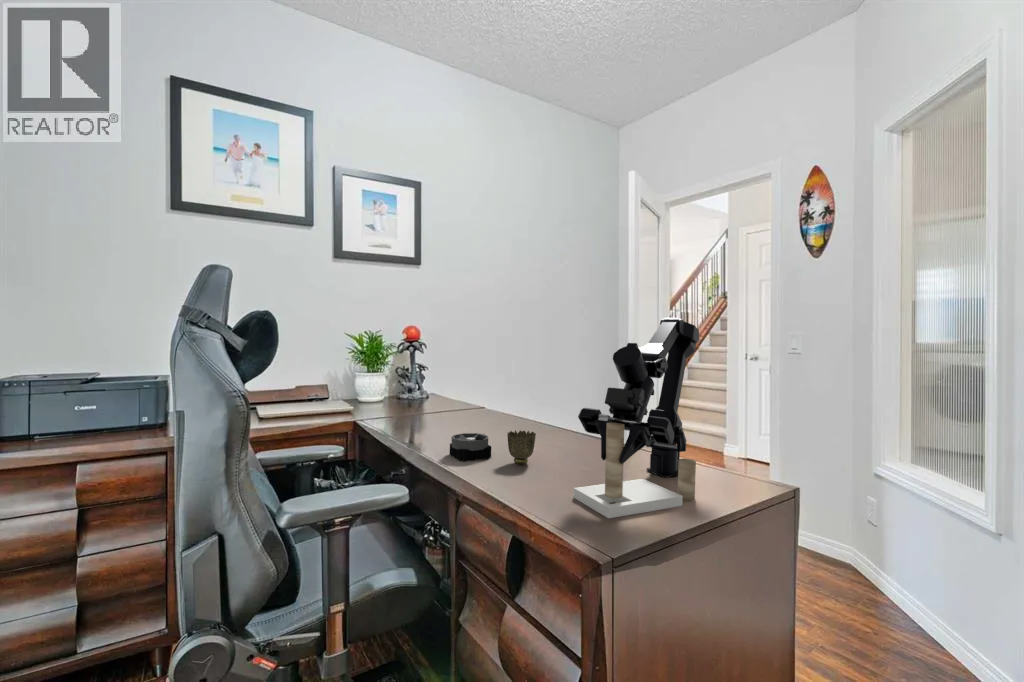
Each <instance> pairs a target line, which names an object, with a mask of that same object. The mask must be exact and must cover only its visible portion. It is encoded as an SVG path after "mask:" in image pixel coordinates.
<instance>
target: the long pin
mask: <svg viewBox="0 0 1024 682" xmlns="http://www.w3.org/2000/svg"><path fill="white" fill-rule="evenodd" d="M624 446H625V430H624V424H622V423H607V429H606V459H605V468H604V469H605V470H604V477H605V478H604V484H605V496H606V497H609V498H621V497H622V494H623V481H624V463H623V464H620V462H619V460H620V456H621V453H622V450H623V448H624Z"/></svg>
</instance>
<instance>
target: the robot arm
mask: <svg viewBox="0 0 1024 682" xmlns="http://www.w3.org/2000/svg"><path fill="white" fill-rule="evenodd" d="M699 341H700V331H699V329H698V327H697V326H696V325H695V324H693V323H690V322H686V321H684V319H682V318H679V317H677V318H676V317H664V318H661V320H660V323H659V326H658V328H657V329H656V331H655V332H654V334H653V335H652V336H651V338H650V340H649V341H648V342H647V344H645V345H643V346H640V347H639V346H638V343H637V342H627V344H626V346H623V347H621V348H619V349H618V350H616V351H615V352H614V353H613V355H612V362H613V364H614V366H615V368H616V370H617V374H618V375H619V378H620V380H621V382H624V383H625V385H624V388H619V387H607V390H606V395H605V399H604V404H605V405H607V406H609V409H608V411H609V414H611V415H612V416H610V415H609V414H605V413H602V411H601V409H599V408H592V407H591V408H590V407H583V408H581V409H580V410H579V413H578V416H577V417H578V419H579V421H580V423H581V425H582V427H583V429H584V431H585V432H587V433H589V434H594V435H600V439H601V440H600V449H601V450H600V451H601V452H600V454H601V455H600V457H601V460H602V461H606V429H607V423H622V424H624V431H628V435H627V439H626V441H625V442H624V448H623V450H622V453H621V456H620V460H619V462H620V464H623V465H624V463H626V462H627V461H628V460H629V459H630V458H631V457H632V456H634V455H635V454H636V453H637V452H638V451H640V450H642V449H643V448H644V447H645V448H646V447H647V448H651V453H650V457H649V467H647V468H646V471H647V472H650V473H651V474H652V473H653V474H655V475H658V476H660V477H662V478H669V477H678V465H679V459H680V453H682V452H686V451H687V438H686V435H685V431H684V430H683V429H684V428H683V422H682V420H681V417H680V415H679V413H678V409H679V405H680V400H681V393H682V388H683V381H684V377H685V371H686V365H687V360H688V359H689V358H690V357H691V356H692V355H693V354H694V353H695V351H696V347H697V345H698V343H699ZM662 377H663V381H662V385H661V390H660V395H659V401H658V405H657V406H656V407H655V409H654V408H652V409H650V410H649V411H648V408H647V407H648V404H649V402H650V399H651V396H654V395H655V389H654V388H655V382H654V380H653V379H661V378H662ZM647 414H648V415H647ZM645 416H647V419H646V421H645V422H643V419H644V417H645Z"/></svg>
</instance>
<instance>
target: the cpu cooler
mask: <svg viewBox="0 0 1024 682" xmlns="http://www.w3.org/2000/svg"><path fill="white" fill-rule="evenodd" d="M449 456H451V457H452V458H453V459H456V460H457V461H459V462H465V463H466V462H472V461H479V460H480V461H481V460H482V461H483V460H488V459H489V460H490V459H491V458H492V445H489V435H486V433H480V432H479V433H478V432H476V433H475V432H468V433H467V432H463V433H458V434H454V435H452V436H451V443H449Z"/></svg>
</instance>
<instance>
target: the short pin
mask: <svg viewBox="0 0 1024 682" xmlns="http://www.w3.org/2000/svg"><path fill="white" fill-rule="evenodd" d="M696 467H697V461H696V460H694V459H692V458H679V465H678V476H677V494H679V495H682V496H683V498H682V502H694V501H695V500H696V498H695V497H696V469H697V468H696Z"/></svg>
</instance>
